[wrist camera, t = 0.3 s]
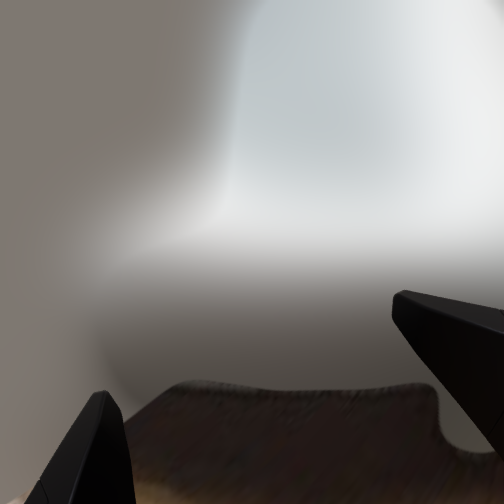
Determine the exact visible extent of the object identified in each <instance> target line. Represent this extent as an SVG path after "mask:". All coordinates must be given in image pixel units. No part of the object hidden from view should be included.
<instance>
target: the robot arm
mask: <svg viewBox="0 0 504 504" xmlns="http://www.w3.org/2000/svg"><path fill="white" fill-rule="evenodd" d="M392 319H393V321H394V323H395V324H396V326H397V327H398V328H399V330H400V331H401V333H402V334H403V336H404V337H405V338H406V340H407V341H408V343H409V344H410V345H411V347H412V348H413V350H414V351H415V352H416V354H417V355H418V356H419V357H420V358H421V360H422V361H423V362H424V363H425V365H426V366H427V367H428V368H429V369H430V370H431V372H432V373H433V374H434V375H435V376H436V377H437V379H438V380H439V381H440V382H441V383H442V385H444V387H445V388H446V389H447V390H448V392H449V393H450V394H451V395H452V397H453V398H454V399H455V400H456V401H457V403H458V404H459V405H460V406H461V408H462V409H463V410H464V411H465V412H466V414H467V415H468V416H469V417H470V419H471V420H472V421H473V422H474V424H475V425H476V426H477V428H478V429H479V430H480V431H481V433H482V434H483V435H484V436H485V437H486V439H487V441H488V442H489V443H490V444H491V446H492V447H493V448H494V450H495V451H496V452H497V454H498V455H499V456H500V458H501V459H502V460H503V462H504V310H501V309H500V310H499V309H496V308H491V307H486V306H481V305H476V304H471V303H466V302H461V301H457V300H452V299H447V298H442V297H437V296H432V295H427V294H423V293H417V292H412V291H408V290H403V291H400V292H398V293H396V294H395V295H394V297H393V305H392ZM24 504H136V499H135V491H134V484H133V475H132V466H131V459H130V454H129V449H128V444H127V439H126V434H125V429H124V423H123V418H122V413H121V410H120V408H119V407H118V405H117V404H116V402H115V401H114V399H113V398H112V396H111V395H110V393H109V392H108V391H106V390H103V391H98V392H94V393H93V394H92V396H91V397H90V399H89V400H88V402H87V403H86V405H85V406H84V408H83V409H82V411H81V412H80V414H79V416H78V417H77V419H76V420H75V422H74V423H73V425H72V426H71V428H70V429H69V431H68V432H67V434H66V436H65V437H64V439H63V440H62V442H61V444H60V445H59V447H58V449H57V450H56V452H55V453H54V455H53V457H52V458H51V460H50V461H49V463H48V465H47V467H46V468H45V470H44V472H43V473H42V475H41V477H40V480H38V481H37V483H36V485H35V486H34V488H33V490H32V491H31V493H30V495H29V496H28V498H27V500H26V501H25V503H24Z"/></svg>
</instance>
